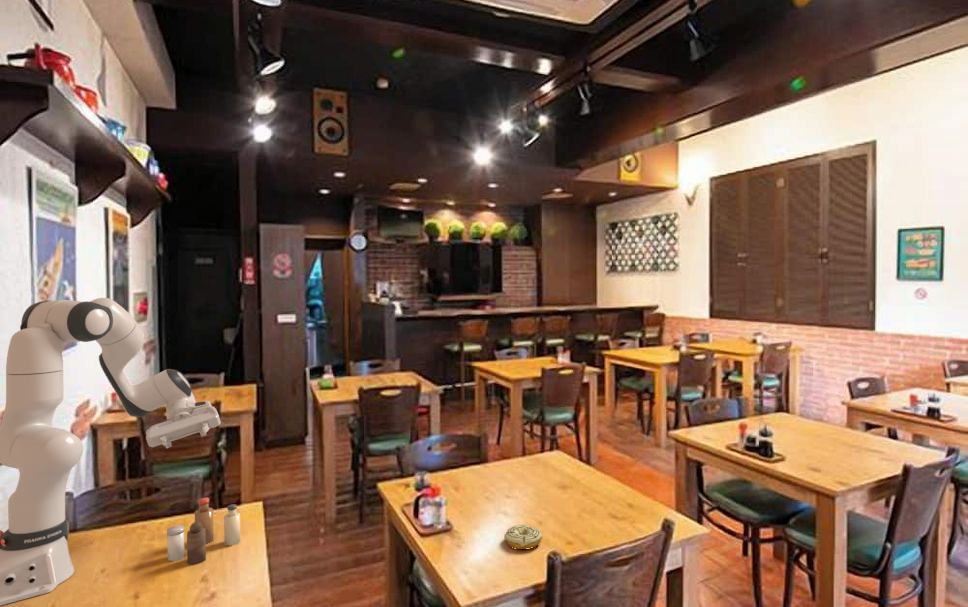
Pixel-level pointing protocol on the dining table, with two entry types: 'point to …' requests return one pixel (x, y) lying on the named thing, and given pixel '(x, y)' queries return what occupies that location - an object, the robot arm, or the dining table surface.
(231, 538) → the vinegar bottle
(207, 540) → the soy bottle
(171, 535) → the salt shaker
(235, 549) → the dining table surface
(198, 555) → the pepper mill
